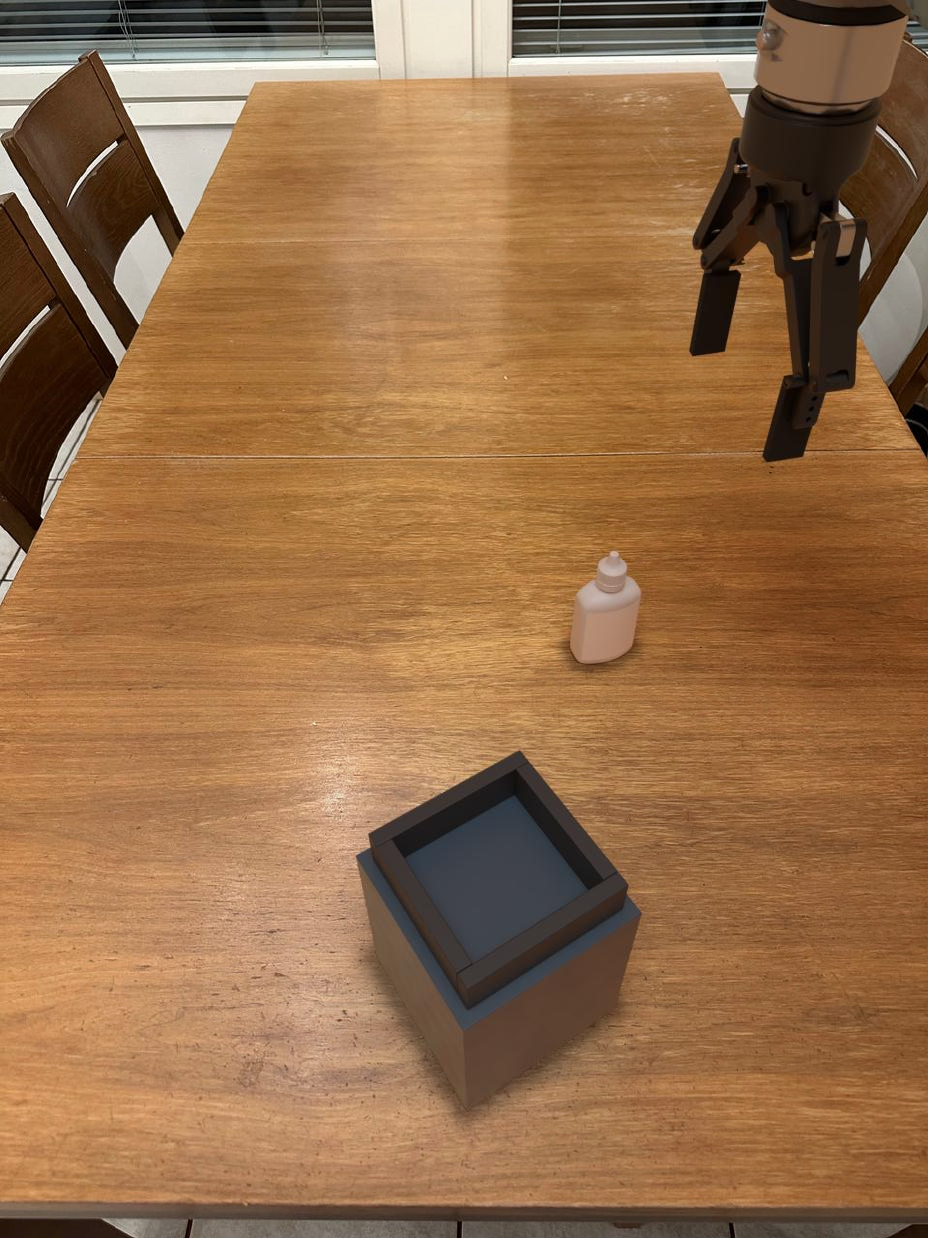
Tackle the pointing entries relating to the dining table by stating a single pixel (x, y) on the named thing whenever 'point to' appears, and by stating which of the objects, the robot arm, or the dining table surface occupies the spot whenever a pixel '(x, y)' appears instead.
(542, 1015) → the pedestal
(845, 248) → the robot arm
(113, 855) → the dining table surface
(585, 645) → the eye dropper bottle
